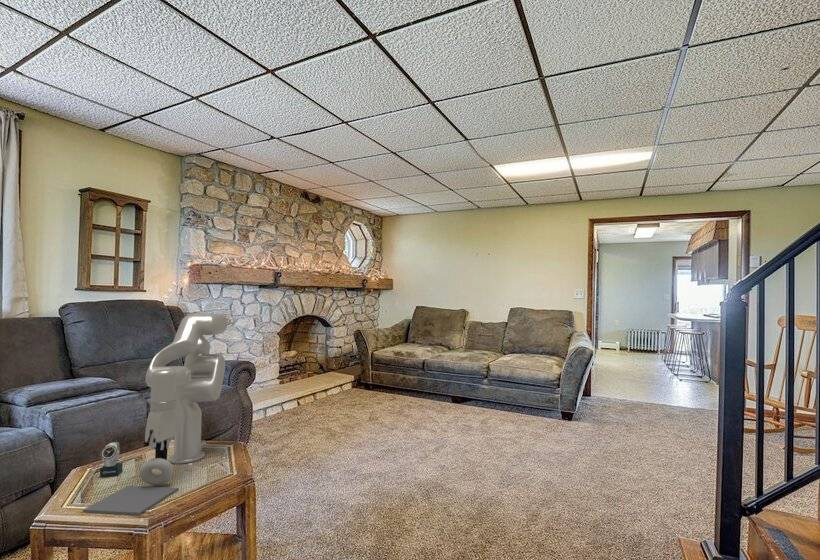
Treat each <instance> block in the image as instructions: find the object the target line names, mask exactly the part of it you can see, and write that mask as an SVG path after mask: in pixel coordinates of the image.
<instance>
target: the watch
mask: <svg viewBox="0 0 820 560" xmlns="http://www.w3.org/2000/svg"><path fill="white" fill-rule="evenodd" d="M120 451H121V450H120V443H119V442H117V441H116V442H109V443H108V444H107V445H106V446H105V447H104V448H103V449H102V451H101V452H100V457H101V460H102V463H103V464H104V465H103V466H101V468H99V478H100V477H102V478H110V477H118V476H119V475H120V474H122V473H123V465H124V463H123V462H118V461H119V459H120V454H121V453H120Z"/></svg>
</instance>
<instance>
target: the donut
mask: <svg viewBox="0 0 820 560" xmlns="http://www.w3.org/2000/svg"><path fill="white" fill-rule="evenodd" d="M172 464H173V463H171V462H169V460H168V459H167V460H166V459H162V458H155V457H154V458H151V459H149V460H147V461H145V462H144V463H143V464H142V465H141V467H140V470H139V476H140V478H141V481H143V482H144V483H146V484H148V485H152V486H161V485H163V484H165V483H167V482H169V480H170V479H171V478H172V477H173V474H174V467H173V465H172ZM152 470H159V471H160V472H161V473H158V474H156V473H154V472H153V471H152Z"/></svg>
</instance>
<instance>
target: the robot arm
mask: <svg viewBox="0 0 820 560" xmlns="http://www.w3.org/2000/svg"><path fill="white" fill-rule="evenodd" d="M228 322H229V321H228V318H227V316H226V314H223V313H195V314H188V315H185V316H184V317H182V319H181V320H180V324H179V326H178V329H177V331H176V333H175V335H174V338H173V341H172V342H171V343H170V344H168V345H167V346H165V347H163V348H162V349H161V350H160V351H159V352H157V353H156V354H155V355H154V356H153V357H152V359H151V361H150V363H149V366H148V368H147V370H146V373H145V384H146V386H147V387H149V388H150V403H149V404H150V412H149V413H148V415H147V418H146V424H145V432H144V433H145V434H144V442H145V443H148V448H153V450H154V451H155V452H154V453H155V455H154V458H162V459H166V460H167V461H169V462H170V463H171V464H177V465H179V464H188V463H189V464H190V463H194V462H198V461H199V460H202V459H203V458H204V457H205V456H206V453H205V451H204V450H202V448H203V447H206V445H207V442H206V441H202V409H201V407H200V406H199V404H198V403H199V402H200V403H201V402H202V403H203V402H215V401H216V400H218V399H219V398H220V396H221V393H222V387H223V384H224V383H223V382H224V377H225V373H226V372H225V371H226V360H225V359H226V358H225V357H224V355H222V354H219V353H210V351H211V343H210V342H209V340H208V339H207V337H205V336H216V335H221V334H223V333H224V332H225V331H226V330H227V327H228ZM183 357H185V359H184V362H183V365H182V366H181V365H179V366H178V365H177V366H175V365H174V366H170V365H169V366H166V365H167V364H169V363H172V362H173V361H175V360H178V359H181V358H183ZM172 440H173V454H172V455H171V456H169V459H168V448H169V447H170V443H171V441H172Z"/></svg>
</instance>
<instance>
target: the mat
mask: <svg viewBox="0 0 820 560" xmlns="http://www.w3.org/2000/svg"><path fill="white" fill-rule="evenodd" d="M178 491H179V487H169V486H148V485H147V486H146V485H145V486H144V485H126V486H124V487H122V488H121V489H119V490H117V491H115V492H113V493H112V494H110V495H108V496H106V497H104V498H101V499H100V500H98V501H97V502H95V503H93V504H91V505H89V506H87V507H86V508H84V509H82V513H83V512H86V514H100V515H101V514H103V515H123V516H138V515H139V516H141V515H142V514H141V513H143V512H144V513H146V512H147V511H149V510H150V509H152V508H153V507H155V506H156V505H157V504H159V503H161V502H162V501H165V500H166V499H167V498H168V497H171V495H174V494H175V493H176V492H178ZM148 509H149V510H148ZM146 510H147V511H146ZM145 511H146V512H145ZM144 513H143V514H144ZM140 514H141V515H140Z"/></svg>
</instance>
